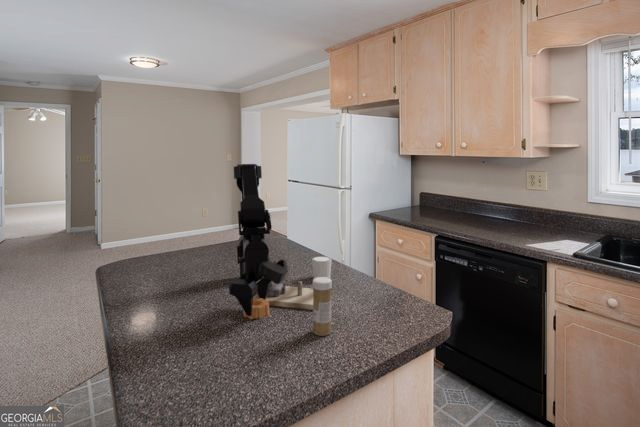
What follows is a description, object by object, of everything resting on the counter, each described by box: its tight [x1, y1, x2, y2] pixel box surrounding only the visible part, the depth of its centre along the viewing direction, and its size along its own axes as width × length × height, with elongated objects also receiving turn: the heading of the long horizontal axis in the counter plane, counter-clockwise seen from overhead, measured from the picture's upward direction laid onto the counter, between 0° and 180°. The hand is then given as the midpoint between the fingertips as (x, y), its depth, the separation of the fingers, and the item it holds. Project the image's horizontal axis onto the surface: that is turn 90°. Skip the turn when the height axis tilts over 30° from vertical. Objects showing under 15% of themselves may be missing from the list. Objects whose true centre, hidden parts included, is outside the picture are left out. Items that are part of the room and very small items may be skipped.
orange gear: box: [242, 298, 270, 320], centre depth 103 cm, size 7×7×3 cm
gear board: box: [253, 280, 313, 311], centre depth 113 cm, size 22×12×6 cm, turn 75°
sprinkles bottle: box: [312, 277, 333, 337], centre depth 91 cm, size 5×5×13 cm
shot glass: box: [311, 255, 333, 279], centre depth 130 cm, size 7×7×7 cm
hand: (256, 308), depth 103 cm, fingers open, 9 cm apart
